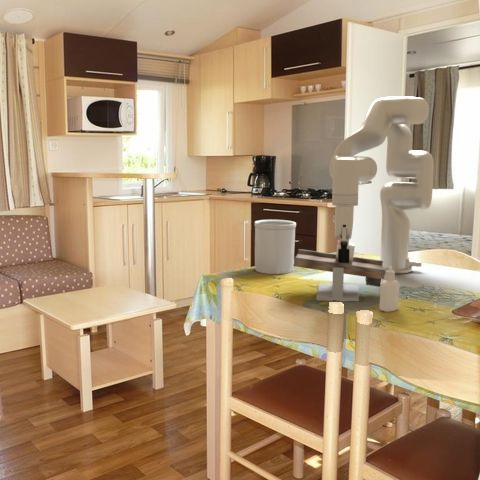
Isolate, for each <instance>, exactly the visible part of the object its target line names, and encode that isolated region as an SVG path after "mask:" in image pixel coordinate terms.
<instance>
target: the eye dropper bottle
mask: <svg viewBox="0 0 480 480" xmlns="http://www.w3.org/2000/svg"><path fill="white" fill-rule="evenodd" d="M379 288H380V289H379V307H378V308H379V309H378V310H379V311H381V312H385V313H386V312H387V313H388V312H394V311H397V310H398V309H399V299H400V283H399V281H397V280H396V273H395V272H394V271H393V270H392V267H391V266H390V267H389V270H388V271H386V273H385V279H383V281H381V285H380V287H379Z"/></svg>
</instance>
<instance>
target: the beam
mask: <svg viewBox="0 0 480 480" xmlns="http://www.w3.org/2000/svg"><path fill="white" fill-rule="evenodd" d="M335 259H336V253H329V252H323V251H315V250H309V249H300V248H298V250H297V254H296V256H294V263H293V267H297V268H303V269H311V270H315V271H316V270H317V271H324V272H329V273H333V267H337V268H344V272H343V274H344V275H349V276H350V275H351V276H357V277H365V285H366V286H372V287H378V288H380V285H381V283H382V280H385V278H386V273H385V270H384V269H383V266H382V264H383V261H380V260H379V259H373V258H364V257H358V256H353V262H352V265H349V264H342V263H335Z"/></svg>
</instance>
